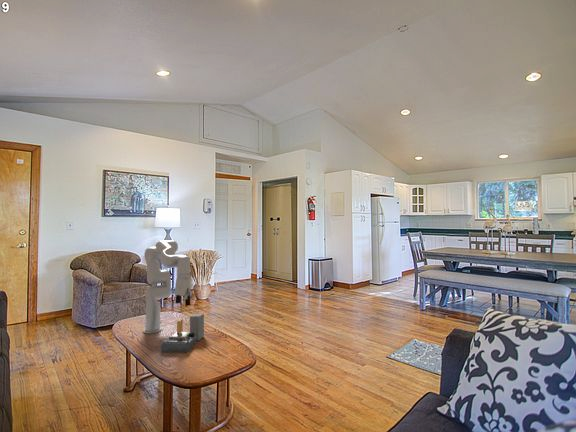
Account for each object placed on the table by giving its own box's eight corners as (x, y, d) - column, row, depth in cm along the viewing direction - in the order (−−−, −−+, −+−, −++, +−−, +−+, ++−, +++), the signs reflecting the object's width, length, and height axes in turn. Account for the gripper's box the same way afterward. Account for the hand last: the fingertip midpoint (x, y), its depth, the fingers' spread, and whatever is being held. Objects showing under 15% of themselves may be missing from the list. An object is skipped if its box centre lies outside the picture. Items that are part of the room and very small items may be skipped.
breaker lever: (179, 332, 191) (180, 318, 191) (182, 332, 191) (182, 318, 191) (176, 335, 186) (177, 321, 186) (179, 335, 186) (179, 321, 186)
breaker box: (171, 341, 196) (172, 329, 197) (196, 342, 196) (196, 329, 196) (160, 352, 180) (161, 338, 181) (187, 352, 180) (187, 339, 180)
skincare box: (198, 341, 198) (199, 316, 199) (188, 340, 200) (189, 316, 200) (204, 336, 206) (205, 313, 207) (194, 335, 208) (195, 312, 208)
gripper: (169, 275, 188) (169, 303, 187) (186, 278, 178) (186, 307, 177) (180, 274, 194) (179, 301, 193) (197, 276, 184) (196, 305, 183)
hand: (182, 304), depth 185 cm, fingers open, 9 cm apart
